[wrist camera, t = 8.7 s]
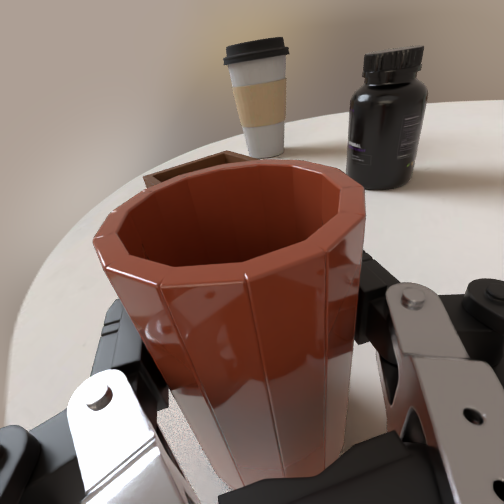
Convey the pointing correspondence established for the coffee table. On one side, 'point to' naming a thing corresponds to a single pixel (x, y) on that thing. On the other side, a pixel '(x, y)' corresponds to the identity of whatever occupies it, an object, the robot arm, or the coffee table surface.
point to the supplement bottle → (386, 119)
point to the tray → (195, 166)
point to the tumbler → (247, 306)
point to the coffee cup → (260, 93)
